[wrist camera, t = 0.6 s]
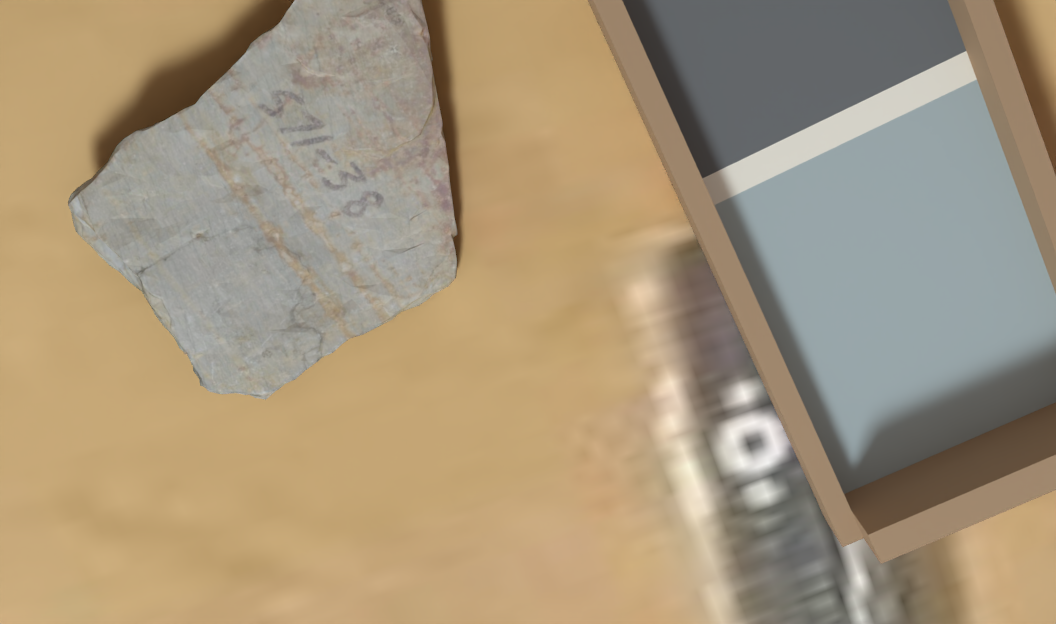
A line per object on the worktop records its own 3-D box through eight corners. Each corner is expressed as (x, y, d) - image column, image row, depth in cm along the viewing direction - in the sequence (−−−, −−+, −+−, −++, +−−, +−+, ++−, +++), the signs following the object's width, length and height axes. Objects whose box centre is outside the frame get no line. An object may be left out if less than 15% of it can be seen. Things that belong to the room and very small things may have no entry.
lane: (429, -347, 30) (414, -405, 26) (766, -540, 29) (802, -630, 25) (824, 518, 37) (858, 573, 34) (1106, 396, 36) (1175, 439, 32)
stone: (396, -70, 33) (386, -81, 30) (575, 193, 35) (579, 204, 32) (54, 185, 35) (18, 195, 32) (244, 419, 37) (223, 446, 34)
